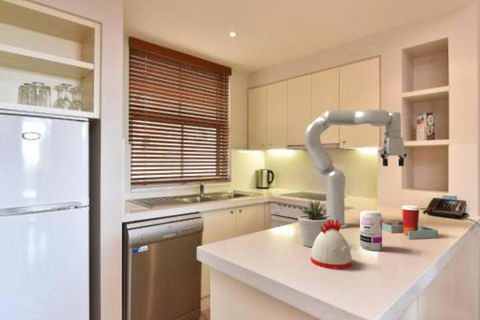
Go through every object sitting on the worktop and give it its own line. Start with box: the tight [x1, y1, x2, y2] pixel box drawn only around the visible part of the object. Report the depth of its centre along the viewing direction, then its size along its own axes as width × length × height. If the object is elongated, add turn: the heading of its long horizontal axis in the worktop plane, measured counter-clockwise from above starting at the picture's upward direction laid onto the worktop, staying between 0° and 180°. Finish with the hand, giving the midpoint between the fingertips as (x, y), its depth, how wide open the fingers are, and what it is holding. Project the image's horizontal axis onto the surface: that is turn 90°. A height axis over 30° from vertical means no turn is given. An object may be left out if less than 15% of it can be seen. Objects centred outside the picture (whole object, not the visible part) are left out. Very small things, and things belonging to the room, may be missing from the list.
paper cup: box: [401, 204, 421, 237], centre depth 135 cm, size 8×8×14 cm
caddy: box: [382, 221, 439, 240], centre depth 138 cm, size 15×19×4 cm
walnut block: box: [390, 219, 403, 226], centre depth 144 cm, size 5×5×5 cm
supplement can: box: [359, 209, 383, 252], centre depth 114 cm, size 8×8×15 cm
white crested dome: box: [310, 220, 353, 270], centre depth 99 cm, size 14×14×15 cm
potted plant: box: [297, 198, 331, 248], centre depth 119 cm, size 13×14×20 cm
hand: (393, 166), depth 152 cm, fingers open, 9 cm apart
